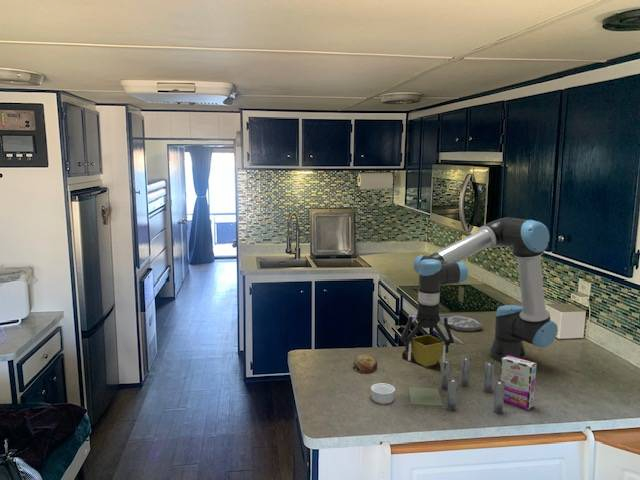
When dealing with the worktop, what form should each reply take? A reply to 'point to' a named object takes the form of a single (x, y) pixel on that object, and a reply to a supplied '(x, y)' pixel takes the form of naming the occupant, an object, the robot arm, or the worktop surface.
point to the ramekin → (382, 393)
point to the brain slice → (464, 323)
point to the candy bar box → (518, 381)
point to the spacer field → (451, 384)
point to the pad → (424, 396)
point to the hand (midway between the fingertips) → (426, 360)
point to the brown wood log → (433, 367)
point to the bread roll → (365, 363)
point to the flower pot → (426, 349)
